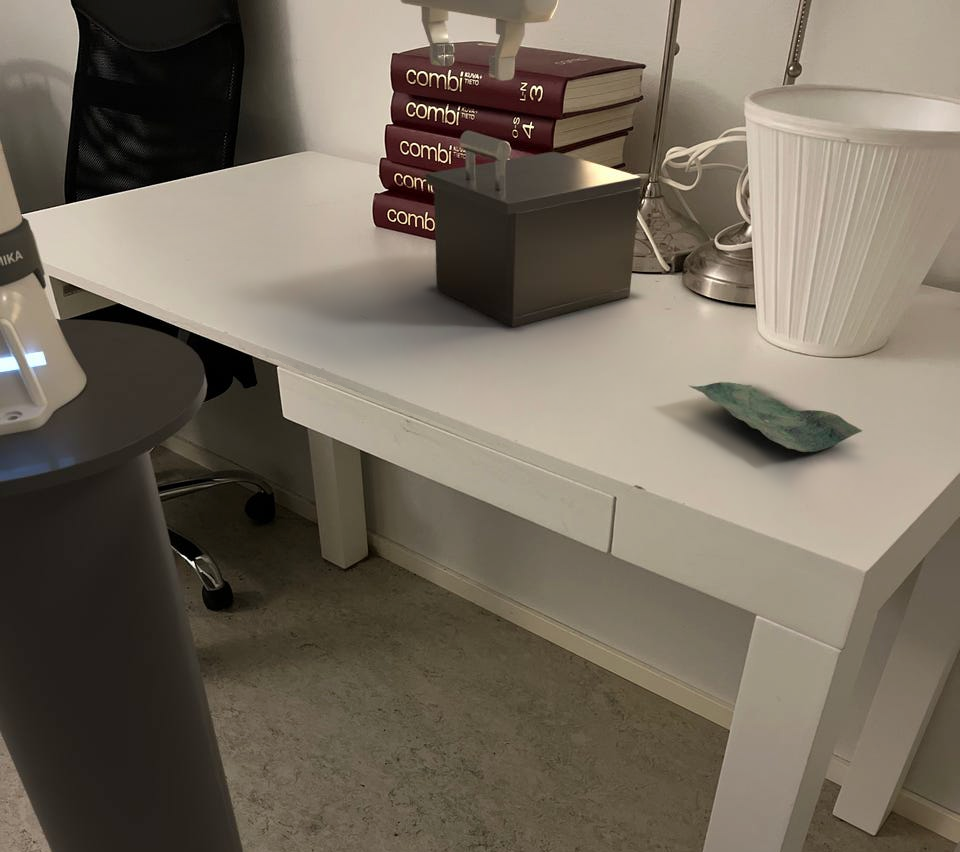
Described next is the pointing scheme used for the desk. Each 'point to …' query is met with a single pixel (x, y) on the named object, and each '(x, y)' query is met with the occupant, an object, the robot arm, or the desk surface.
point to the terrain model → (780, 418)
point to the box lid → (526, 177)
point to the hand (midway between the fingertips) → (470, 72)
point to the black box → (535, 255)
